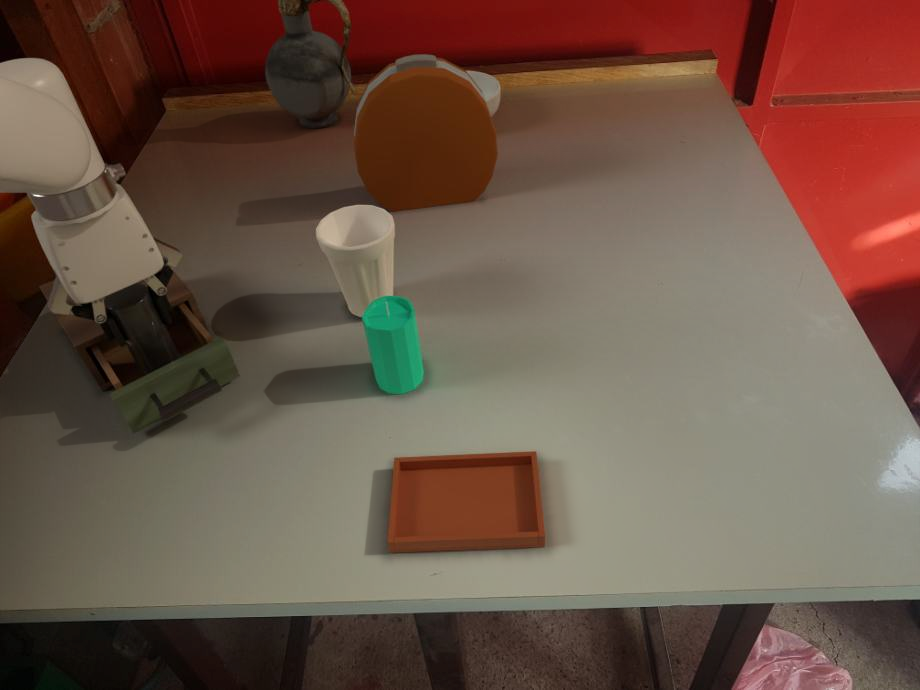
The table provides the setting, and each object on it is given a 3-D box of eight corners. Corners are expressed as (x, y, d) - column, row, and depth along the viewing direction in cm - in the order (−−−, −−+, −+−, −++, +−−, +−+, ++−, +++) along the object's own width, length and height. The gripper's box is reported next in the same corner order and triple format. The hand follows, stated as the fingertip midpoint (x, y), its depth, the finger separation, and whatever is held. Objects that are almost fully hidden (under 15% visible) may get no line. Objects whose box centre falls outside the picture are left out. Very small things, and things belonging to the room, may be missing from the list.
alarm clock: (490, 168, 121) (485, 34, 105) (499, 198, 114) (495, 59, 98) (364, 183, 120) (339, 51, 104) (365, 214, 113) (339, 77, 97)
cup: (367, 339, 91) (349, 259, 82) (320, 308, 96) (298, 229, 87) (421, 301, 96) (410, 221, 87) (374, 273, 101) (359, 195, 92)
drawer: (256, 395, 84) (242, 360, 80) (147, 456, 78) (126, 422, 74) (193, 319, 95) (178, 285, 91) (94, 367, 89) (73, 334, 85)
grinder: (152, 391, 83) (111, 315, 75) (138, 370, 86) (97, 295, 78) (190, 371, 85) (154, 296, 77) (175, 352, 88) (139, 277, 80)
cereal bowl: (491, 146, 126) (490, 108, 122) (404, 141, 130) (400, 105, 125) (508, 105, 138) (508, 69, 133) (428, 102, 142) (425, 67, 137)
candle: (405, 352, 89) (392, 278, 80) (434, 377, 85) (423, 302, 77) (366, 375, 86) (349, 301, 78) (394, 402, 83) (379, 327, 74)
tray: (389, 552, 68) (387, 542, 67) (396, 468, 76) (394, 457, 74) (544, 546, 67) (545, 536, 66) (536, 461, 75) (536, 451, 74)
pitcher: (301, 104, 145) (263, -57, 125) (380, 115, 139) (354, -52, 118) (270, 127, 138) (225, -39, 118) (352, 140, 132) (320, -33, 111)
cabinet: (211, 336, 93) (191, 291, 88) (102, 391, 87) (74, 346, 82) (167, 283, 103) (147, 240, 97) (65, 329, 97) (38, 286, 91)
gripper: (143, 150, 75) (198, 284, 87) (-27, 211, 67) (59, 347, 80) (169, 174, 70) (223, 312, 82) (-10, 242, 63) (79, 382, 75)
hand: (142, 328), depth 81 cm, fingers closed on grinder, 4 cm apart
